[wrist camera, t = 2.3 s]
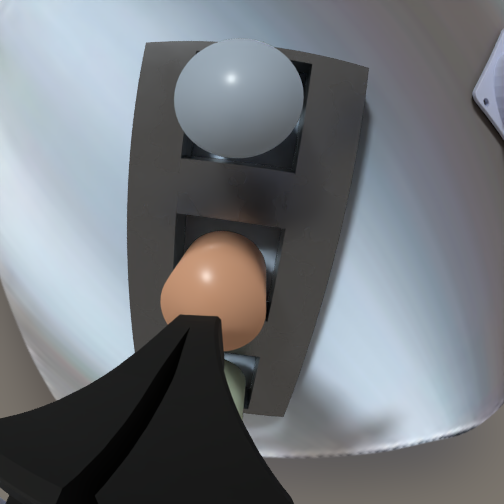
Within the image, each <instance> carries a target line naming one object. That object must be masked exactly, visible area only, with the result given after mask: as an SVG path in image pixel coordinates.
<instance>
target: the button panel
mask: <svg viewBox="0 0 504 504" xmlns="http://www.w3.org/2000/svg"><path fill="white" fill-rule="evenodd" d="M214 43H217V42H207V41H170V42H150V43H146V46H145V51H144V56H143V61H142V66H141V72H140V78H139V84H138V90H137V97H136V104H135V111H134V119H133V128H132V138H131V149H130V162H129V178H128V203H127V256H128V281H129V298H130V311H131V322H132V332H133V341H134V349H135V353H136V352H137V351H138V350H140V349H141V348H142V347H143V346H144V345H145V344H147V343H148V342H149V341H150V340H151V339H152V338H154V337H155V336H156V335H157V334H158V333H159V332H160V331H161V330H163V329H164V328H165V327H166V326H167V325H168V324H167V323H166V321H165V319H164V316H163V314H162V310H161V302H160V301H161V293H162V289H163V287H164V284H165V283H166V281H167V279H168V278H169V276H170V275H171V273H172V272H173V270H174V269H175V267H176V266H177V264H178V263H179V261H180V260H181V258H182V257H183V255H184V239H185V224H186V214H187V215H194V216H201V217H209V218H216V219H223V220H230V221H237V222H244V223H251V224H257V225H264V226H270V227H277V228H281V234H280V239H279V245H278V250H277V255H276V261H275V266H274V272H273V277H272V282H271V287H270V292H269V298H268V302H266V317H265V321H264V325H263V327H262V329H261V331H260V332H259V334H258V335H257V336H256V337H255V338H254V339H253V340H252V341H251V342H249V343H248V344H246V345H245V346H242V347H240V348H238V349H235V350H230V351H224V352H228V353H235V354H242V355H249V356H256V362H255V367H254V371H253V376H252V381H251V385H250V388H245V396H244V407H243V413H248V414H257V415H267V416H279V417H284V414H285V411H286V409H287V406H288V404H289V401H290V398H291V395H292V393H293V390H294V387H295V384H296V381H297V379H298V376H299V373H300V370H301V367H302V364H303V361H304V358H305V355H306V352H307V349H308V346H309V343H310V340H311V337H312V333H313V330H314V327H315V324H316V320H317V317H318V314H319V310H320V307H321V304H322V300H323V297H324V293H325V290H326V286H327V282H328V279H329V275H330V271H331V267H332V264H333V260H334V256H335V252H336V248H337V244H338V240H339V235H340V231H341V227H342V223H343V218H344V214H345V209H346V205H347V200H348V195H349V191H350V186H351V181H352V176H353V170H354V165H355V160H356V154H357V148H358V143H359V137H360V130H361V124H362V117H363V111H364V103H365V96H366V88H367V80H368V71H369V68H367V67H364V66H360V65H357V64H353V63H349V62H346V61H342V60H338V59H334V58H330V57H325V56H321V55H316V54H311V53H306V52H301V51H295V50H289V49H283V48H276V47H274V48H276V49H278V50H279V51H280V52H282V53H283V54H284V55H285V56H286V57H287V58H288V59H289V60H290V61H291V62H292V64H293V65H294V66H295V68H296V70H297V72H300V73H305V74H306V80H305V87H304V94H303V95H304V99H303V107H302V112H301V115H300V120H299V127H298V133H297V140H296V146H295V152H294V158H293V164H292V169H287V168H281V167H275V166H268V165H262V164H255V163H248V162H240V161H233V160H225V159H216V158H207V157H197V156H192V150H193V141H191V139H190V138H189V137H188V136H187V135H186V134H185V132H184V131H183V129H182V128H181V126H180V124H179V122H178V119H177V116H176V112H175V107H174V94H175V88H176V84H177V81H178V78H179V76H180V74H181V72H182V70H183V69H184V67H185V66H186V64H187V63H188V62H189V61H190V60H191V59H192V58H193V57H194V56H195V55H196V54H197V53H198V52H200V51H201V50H203V49H204V48H206V47H208V46H210V45H212V44H214Z"/></svg>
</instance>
